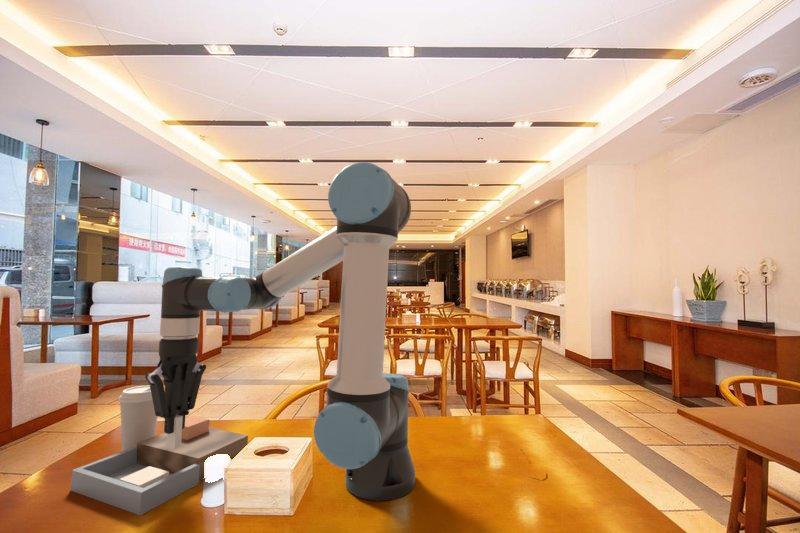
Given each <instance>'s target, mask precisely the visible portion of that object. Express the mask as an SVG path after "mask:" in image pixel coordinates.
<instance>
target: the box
mask: <svg viewBox="0 0 800 533" xmlns="http://www.w3.org/2000/svg"><path fill="white" fill-rule="evenodd" d="M146 467H147V466H143V465H140V464H137V448H135V447H133V448H130V449H128V450H125V451H122V450H121V451H120V452H117V453H114V454H112V455H108V456H106V457H104V458H100V459H98V460H96V461H93V462H91V463H87V464H85V465H81V466H80V467H77V468H74V469H72V470H71V480H70V491H71V492H75V493H77V494H79V495H82V496H86V498H91V499H93V500H96V501H98V502H102V503H105V504H106V505H110V506H113V507H115V508H118V509H121V510H123V511H126V512H129V513H131V514H134V515H137V516H142V515H143V514H145V513H148V512H149V511H151V510H153V509H154V508H156V507H159V506H161V505H162V504H164V503H166V502H168V501H169V500H172V499H173V498H175V497H177V496H179V495H180V494H182V493H184V492H186V491H188V490H189V489H191V488H192V489H193V488H194V487H195V486H197V485H199V483H200V482H199V468H200V464H197V463H195V464H193V465H191V466H189V467H187V468H185V469H182V470H180V471H178V472H176V473H174V474H171V473H169V476H168V477H166V478H164V479H161V480H159V481H157V482H155V483H153V484H151V485H149V486H147V487H145V488H142V487H139V486H135V485H132V484H129V483H126V482H123V481H120V480H119V479H121V478H123V477H125V476H128V475H130V474H132V473H135V472H137V471H139V470H142V469H144V468H146Z"/></svg>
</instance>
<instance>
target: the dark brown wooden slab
mask: <svg viewBox="0 0 800 533" xmlns="http://www.w3.org/2000/svg"><path fill="white" fill-rule="evenodd" d="M248 435H249V434H243V433H239V432H233V431H229V430H225V429H224V430H223V429H219V428H215V427H210V426H209V431H208V432H206V433H203V434H201V435H198V436H196V437H193V438H191V439H188V440H186V439H181V447H179V448H176V449H172V448H168V447H166V439H167V433H165V432H164V433H161V434H158V435H155V436H154V437H152V438H149V439H146V440H144V441H141V442H138V443H137V464H140V465H143V466H147V467H149V466H151V467H155V468H158V469H162V470H165V471H168V472H169V473H171V474H174V473H176V472H178V471H180V470H182V469H185V468H187V467H189V466H191V465H193V464H195V463H197V464H200V468H199V483H200V482H202V481H204V480H203V478H204V462H205V460H206V459H207V458H208V457H210V456H213V455H216V454H228V455H229V456H230V458H231V459H233V458H234V457H235V456H236V455H237V454H238V453H239V452H240V451H241V450H242V449H243V448H244V447H245V446H246V445H247V444H248V445H249V443H248V442H249V436H248Z"/></svg>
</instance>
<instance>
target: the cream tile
mask: <svg viewBox="0 0 800 533" xmlns="http://www.w3.org/2000/svg"><path fill="white" fill-rule="evenodd" d="M168 476H169V472H168V471H165V470H162V469H158V468H155V467H151V466H149V467H146V468H144V469H142V470H139V471H137V472H135V473H132V474H130V475H128V476H125V477H123V478H121V479H119V480H120V481H123V482H126V483H129V484H132V485H135V486H139V487H142V488H145V487H147V486H149V485H151V484H153V483H155V482H157V481H159V480H161V479H164V478H166V477H168Z"/></svg>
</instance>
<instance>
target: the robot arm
mask: <svg viewBox="0 0 800 533" xmlns="http://www.w3.org/2000/svg"><path fill="white" fill-rule="evenodd" d="M327 200H328V205H329V208H330V210H331V212H332V214H333V216H335V218H336V226H335V227H333V228H332V229H330V230H329V231H326V232H325V233H324V234H322V235H320V236H319V237H317V238H316V239H314V240H312V241H311V242H309V243H308V244H306V245H304V246H303V247H301V248H299V249H298V250H295V252H293V253H291V254H290V255H289V256H287V257H285V258H284V259H283V258H282V260H281V261H279V262H277V263H275V264H274V265H272V266H271V267H269V268H267V269H266V270H265V271H263V272H261V273H260V274H257V275H256V276H255V277H240V276H233V275H231V276H229V275H222V276H203V271H202V270H203V269H201V268H198V267H191V266H190V267H186V266H185V267H184V266H183V267H182V266H169V267H167V268H166V269H165V270H164V271H163V272H164V273H163V279H162V284H161V307H160V308H161V309H160V328H159V329H160V330H159V336H160V337H162V338H160V339H159V340H158V342H159V343H158V355H159V361H158V363H157V366H156V367H157V368H156V369H154V370H153V371H152V372H151V373H150V372H149V373H146V374H145V376H144V378H145V380H146V381H147V383H148V384H149V385H150V389H151V394H152V400H153V405H154V410H155V415H156V416H158V417H157V418H159V417H160V418H163V420H164V422H163V423H164V427H163V432H164V433H167V439H166V447H168V448H172V449H176V448H179V447H181V439H182V429H184V427H185V418H186V416H188V415H189V414H190V410H194V408H195V406H196V401H197V397H198V393H199V390H200V386H201V381H202V377H203V374H204V373H205V371H206V369H207V365H206V364H203V363H200V362H199V361H198V358H197V354H198V353H199V344H200V343H199V341H200V338H199V337H198V335H199V334H200V326H201V325H200V323H201V311H202V312H203V311H206V312H219V313H224V314H225V313H235V312H236V313H237V312H241V311H245V310H248V311H249V310H266V309H270V308H274V307H275V306H277V305H278V304H279V303H280V301H281V300H282V297H283V296H286V295H288V294H289V293H291V292H293V291H294V290H296V289H298V288H300V287H301V286H302V285H303V284H306V283H307V282H309V281H311V280H312V279H314V278H315V277H319V275H321V274H323V273H324V272H326V271H328V270H329V269H331V268H333V267H335V266H337V265H338V264H340V263H341V262H342V274H341V292H340V308H339V323H338V324H339V326H338V341H337V342H338V344H337V358H336V359H337V362H336V374H335V376H334V377H333V378H331V379H330V380H329V381H328V383H327V389H326V404H325V405H326V406H324V407H323V409H322V410H320V412H319V414H318V415H317V417H316V419H315V422H314V426H313V435H314V437H313V438H314V440H315V444H316V446H317V449H318V451H319V452H320V454H322V455H323V456H324V457H325V460H326V461H327V462H329V463H330V464H331V465H334V466H335V467H337V468H340V469H343V470H345V476H344V477H345V478H344V479H345V480H344V485H345V487H346V489H347V491H348V492H349V493H351V494H352V495H354V496H356V497H358V498H360V499H364V500H368V501H379V500H383V501H391V499H392V500H395V499H399V498H401V496H402V497H404V496H406V495H407V493H408V492H409V493H410V492H412V490H413V489H414V488H415V486H416V470H415V466H414V463H413V459H412V456H411V452H410V449H409V446H408V445H409V442H408V440H409V438H408V436H409V393H410V388H409V380H408V378H407V377H406V376H404V375H402V374H397V373H389V372H384V358H385V357H384V355H385V334H386V320H387V319H386V316H387V299H388V298H387V297H388V280H389V278H388V277H389V260H390V258H389V256H390V248H391V247H392V246H393V245H394V244H395V243H397V241H398V238H399V237H398V234H399V233H400V232H401V231H403V229H404V228H405V227H406V226H407V224H408V222H409V220H410V218H411V213H412V203H411V198H410V197H409V195H408V192H407V191H406V190H405V189H404V188H403V187H402V186H401V185H400V184H398V182H396V180H394V178H392V176H391V175H390V173H389V172H388V171H386V169H383V168H381V167H380V166H378V165H377V164H374V163H371V162H365V161H360V162H355V163H352V164H349V165H346V166H345V167H344V168H343V169H341V170H340V171H339V173H337V174H336V175H335V176H334V178H333V179H332V180H331V183H330V185H329V189H328V194H327ZM414 485H415V486H414ZM413 487H414V488H413ZM409 493H408V494H409ZM405 494H406V495H405ZM403 495H404V496H403Z"/></svg>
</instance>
